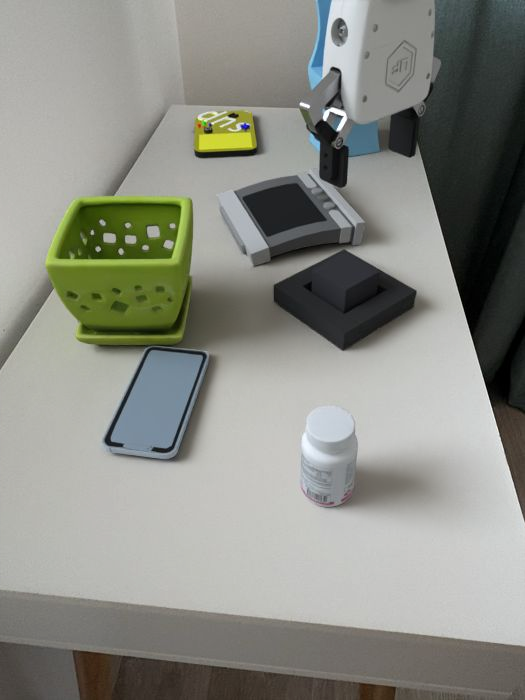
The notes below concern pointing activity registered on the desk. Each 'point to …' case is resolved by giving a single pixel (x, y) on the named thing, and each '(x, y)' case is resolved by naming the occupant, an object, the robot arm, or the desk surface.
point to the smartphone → (157, 403)
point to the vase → (360, 136)
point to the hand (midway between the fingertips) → (368, 167)
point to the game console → (224, 134)
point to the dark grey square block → (345, 282)
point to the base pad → (334, 323)
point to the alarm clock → (288, 216)
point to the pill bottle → (328, 456)
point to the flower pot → (125, 269)
